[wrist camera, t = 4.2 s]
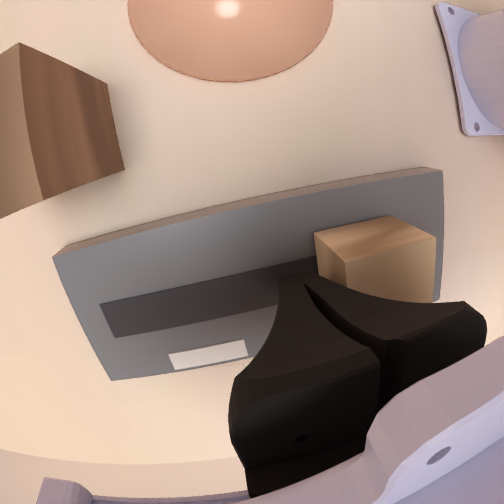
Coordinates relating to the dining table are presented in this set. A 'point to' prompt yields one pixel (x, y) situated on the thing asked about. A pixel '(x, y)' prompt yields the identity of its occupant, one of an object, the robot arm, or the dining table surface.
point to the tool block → (51, 129)
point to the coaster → (230, 34)
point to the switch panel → (223, 269)
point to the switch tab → (379, 259)
